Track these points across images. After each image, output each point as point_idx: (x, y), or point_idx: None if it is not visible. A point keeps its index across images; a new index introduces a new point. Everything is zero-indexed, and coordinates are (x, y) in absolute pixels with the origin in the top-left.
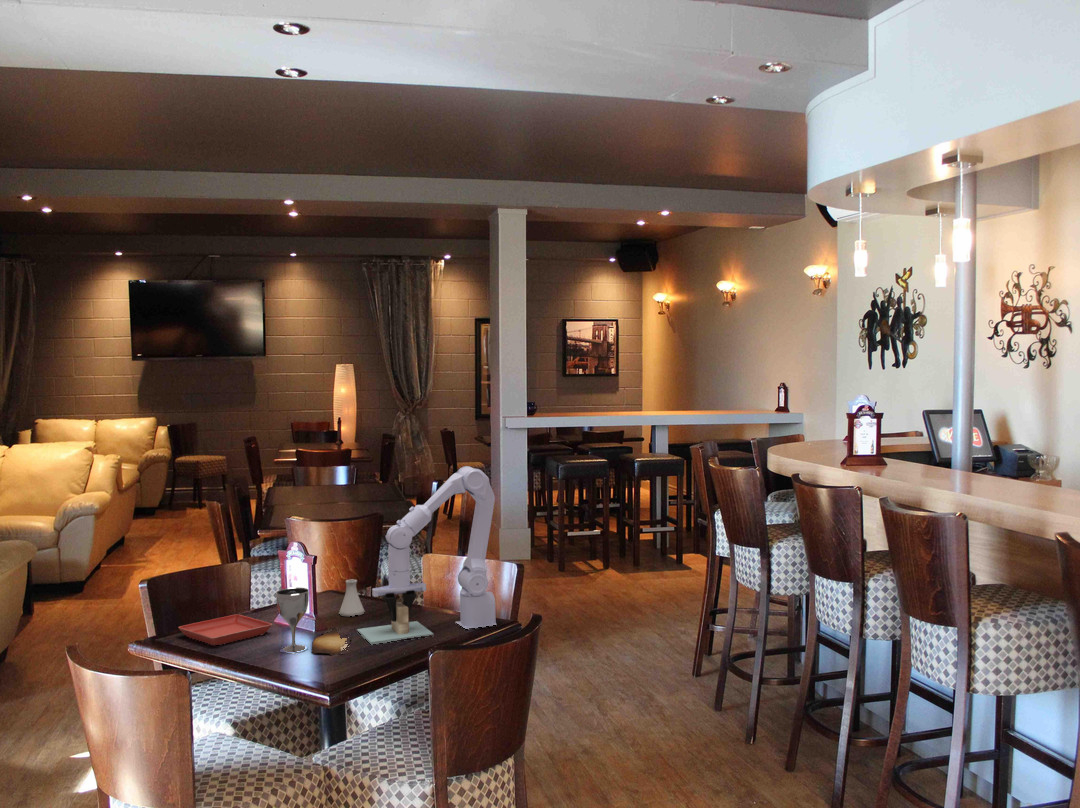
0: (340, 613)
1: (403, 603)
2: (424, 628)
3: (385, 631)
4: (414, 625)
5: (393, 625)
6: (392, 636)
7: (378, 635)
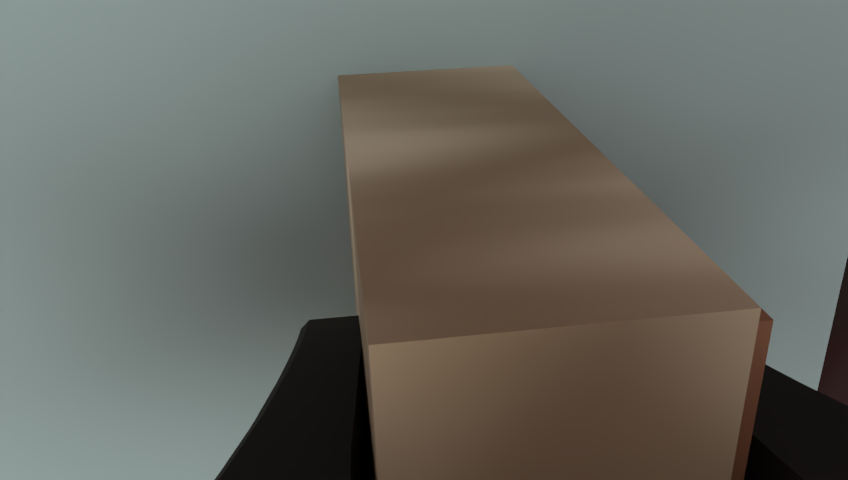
0: None
1: (780, 459)
2: (806, 306)
3: (191, 232)
4: (766, 69)
5: (350, 227)
6: None
7: (46, 407)
